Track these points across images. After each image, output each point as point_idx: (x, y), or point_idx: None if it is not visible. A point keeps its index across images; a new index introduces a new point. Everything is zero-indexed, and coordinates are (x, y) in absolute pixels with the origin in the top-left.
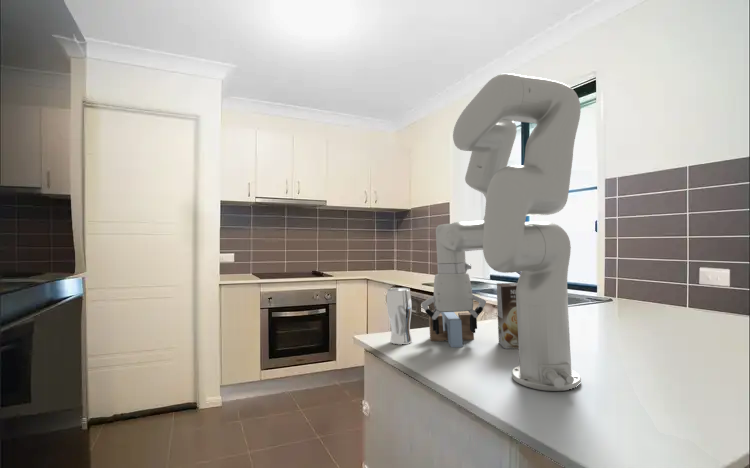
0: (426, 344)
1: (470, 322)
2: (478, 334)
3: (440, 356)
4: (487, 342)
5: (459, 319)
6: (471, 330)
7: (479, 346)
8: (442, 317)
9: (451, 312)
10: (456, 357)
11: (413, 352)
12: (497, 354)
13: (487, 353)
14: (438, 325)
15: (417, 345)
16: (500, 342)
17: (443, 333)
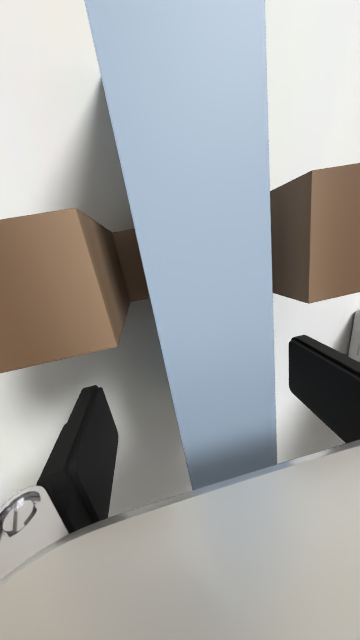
0: (55, 361)
1: (326, 380)
2: (316, 157)
3: (138, 480)
4: (315, 310)
5: (270, 463)
6: (292, 370)
7: (275, 365)
8: (118, 340)
9: (230, 114)
10: (189, 477)
11: (28, 464)
12: (306, 434)
13: (282, 430)
14: (109, 486)
15: (13, 380)
16: (357, 350)
17: (130, 299)
